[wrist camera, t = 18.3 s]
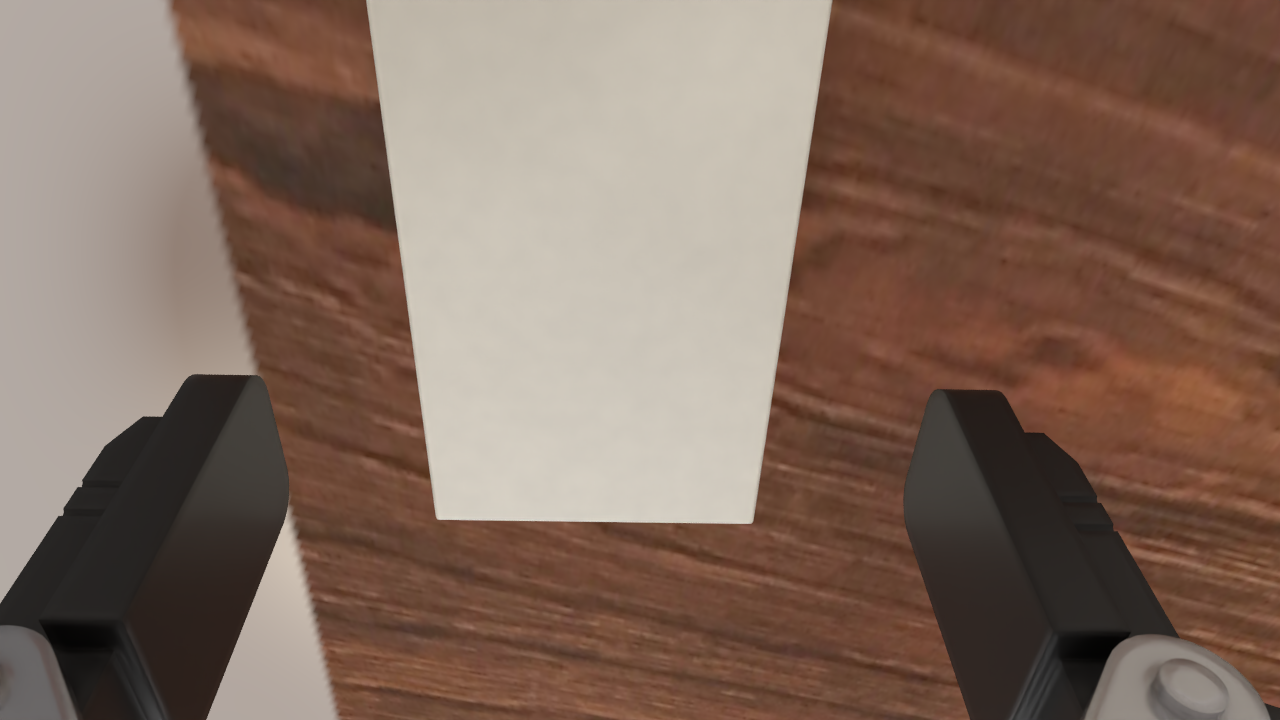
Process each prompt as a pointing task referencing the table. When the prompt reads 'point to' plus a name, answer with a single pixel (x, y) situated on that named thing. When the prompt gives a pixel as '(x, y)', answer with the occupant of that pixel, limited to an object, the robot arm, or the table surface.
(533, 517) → the off-white rectangular slab
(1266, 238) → the table surface
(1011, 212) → the table surface
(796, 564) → the table surface
